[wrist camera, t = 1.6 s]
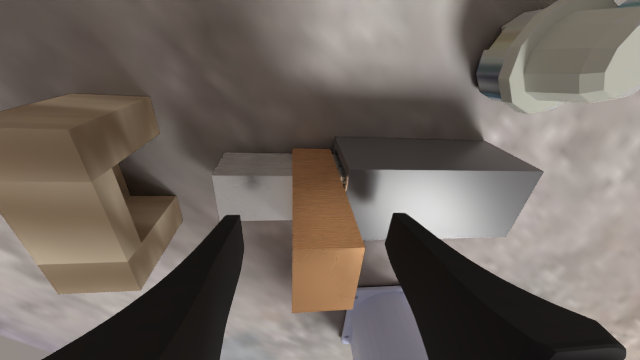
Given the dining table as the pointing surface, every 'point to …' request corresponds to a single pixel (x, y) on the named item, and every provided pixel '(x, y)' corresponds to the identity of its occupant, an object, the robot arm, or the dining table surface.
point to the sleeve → (434, 185)
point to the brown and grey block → (300, 218)
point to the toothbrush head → (564, 56)
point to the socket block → (83, 191)
